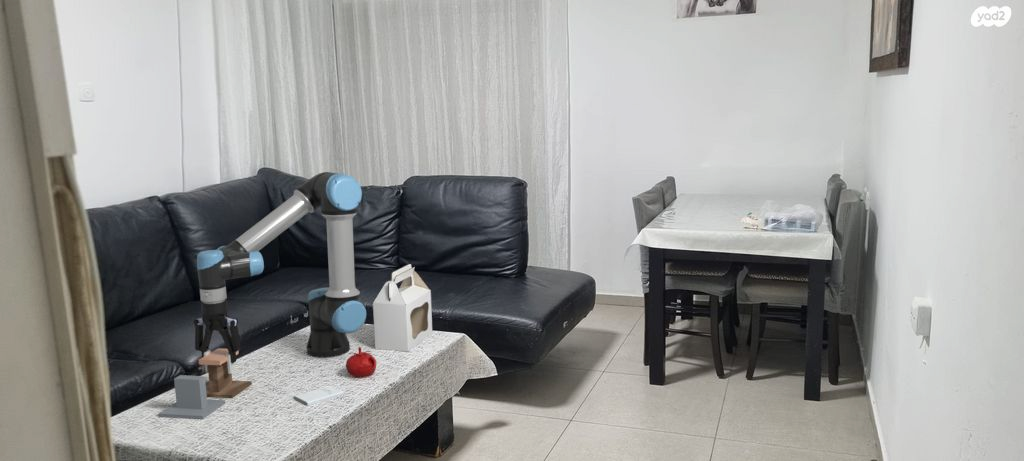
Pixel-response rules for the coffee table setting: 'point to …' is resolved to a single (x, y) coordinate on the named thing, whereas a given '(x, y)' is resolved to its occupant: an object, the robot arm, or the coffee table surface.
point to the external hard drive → (318, 395)
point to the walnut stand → (223, 382)
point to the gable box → (402, 312)
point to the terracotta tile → (215, 357)
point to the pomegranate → (361, 364)
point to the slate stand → (191, 399)
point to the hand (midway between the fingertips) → (220, 371)
